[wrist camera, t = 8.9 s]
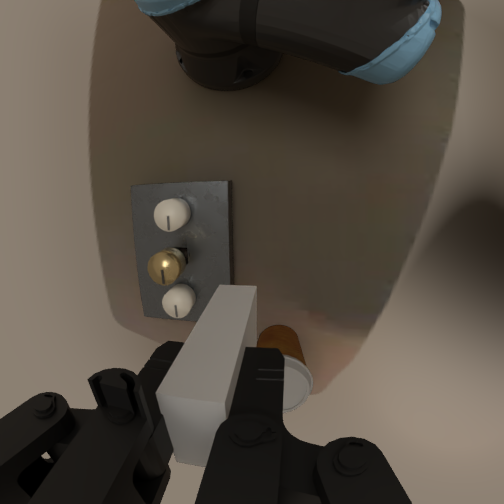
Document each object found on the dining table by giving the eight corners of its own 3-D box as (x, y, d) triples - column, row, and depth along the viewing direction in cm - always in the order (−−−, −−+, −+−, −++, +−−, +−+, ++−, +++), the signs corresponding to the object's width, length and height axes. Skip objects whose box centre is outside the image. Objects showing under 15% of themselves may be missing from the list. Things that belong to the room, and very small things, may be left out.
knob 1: (170, 196, 41) (152, 200, 35) (196, 195, 40) (182, 199, 34) (171, 223, 42) (154, 231, 36) (197, 223, 41) (183, 231, 36)
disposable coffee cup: (244, 359, 47) (232, 409, 35) (254, 310, 44) (243, 354, 32) (300, 369, 46) (302, 420, 34) (315, 321, 43) (323, 368, 32)
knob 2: (175, 275, 44) (160, 290, 38) (200, 277, 43) (188, 292, 38) (178, 299, 45) (163, 317, 39) (202, 301, 44) (190, 319, 39)
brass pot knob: (164, 241, 39) (145, 253, 34) (191, 242, 39) (176, 254, 33) (167, 269, 40) (149, 284, 35) (193, 270, 40) (178, 286, 34)
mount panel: (140, 184, 41) (130, 185, 38) (231, 180, 39) (227, 180, 37) (151, 308, 46) (144, 316, 43) (235, 314, 45) (231, 323, 42)
